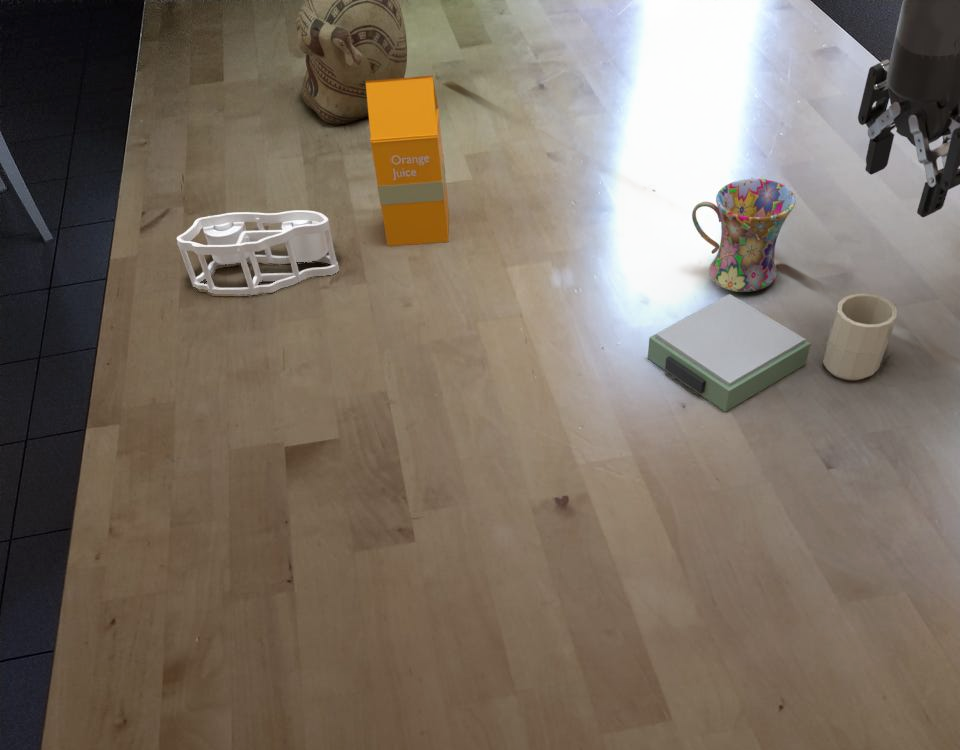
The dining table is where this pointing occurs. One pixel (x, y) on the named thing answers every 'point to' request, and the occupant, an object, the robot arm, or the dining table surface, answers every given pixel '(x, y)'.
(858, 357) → the pen cup
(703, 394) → the scale
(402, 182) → the orange juice
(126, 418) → the dining table surface
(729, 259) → the mug
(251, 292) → the white lattice frame
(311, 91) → the ceramic vessel
